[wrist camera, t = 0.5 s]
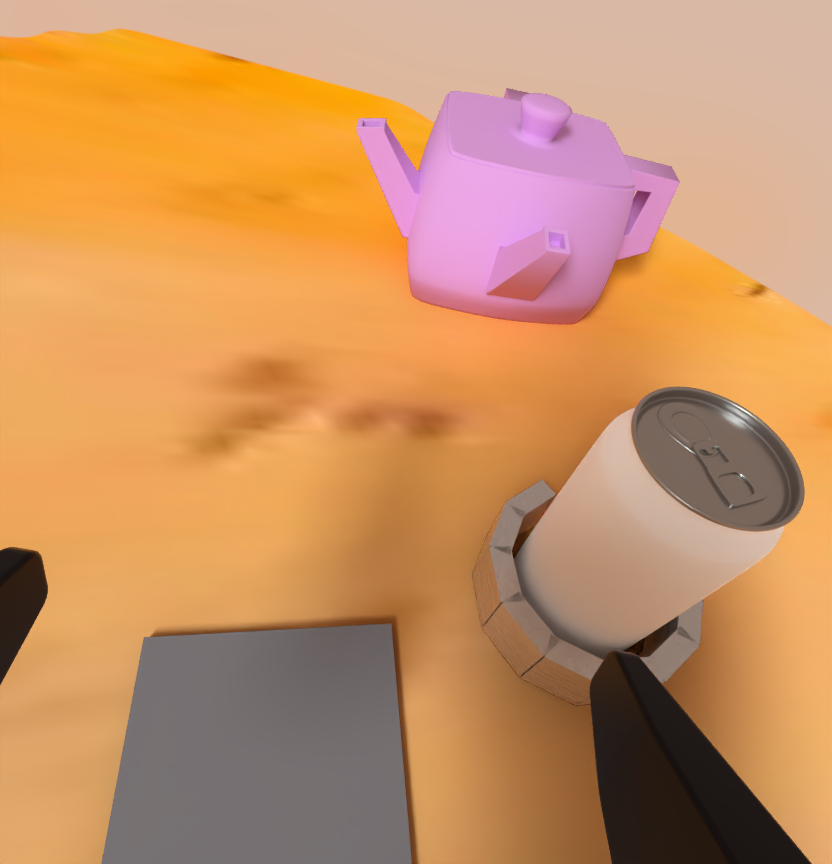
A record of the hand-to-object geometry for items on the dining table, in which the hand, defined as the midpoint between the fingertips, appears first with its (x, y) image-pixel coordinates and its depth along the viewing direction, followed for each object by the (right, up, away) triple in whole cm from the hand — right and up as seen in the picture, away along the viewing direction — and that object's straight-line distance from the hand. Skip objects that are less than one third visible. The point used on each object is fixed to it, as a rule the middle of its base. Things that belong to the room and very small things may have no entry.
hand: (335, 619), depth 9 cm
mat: (-4, -10, +11) cm, 15 cm away
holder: (+9, -5, +18) cm, 21 cm away
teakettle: (+7, +15, +34) cm, 38 cm away
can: (+9, -5, +18) cm, 21 cm away
